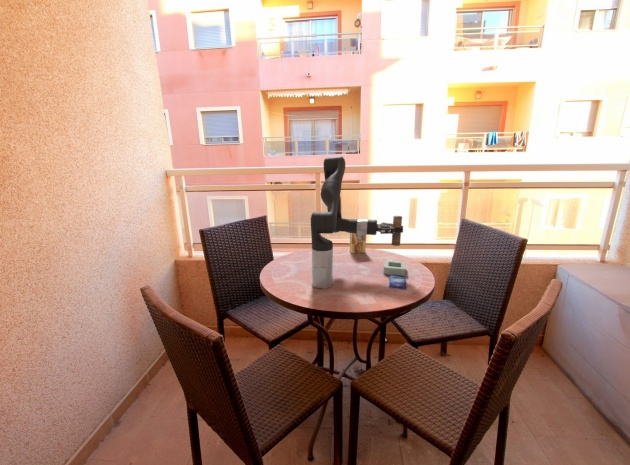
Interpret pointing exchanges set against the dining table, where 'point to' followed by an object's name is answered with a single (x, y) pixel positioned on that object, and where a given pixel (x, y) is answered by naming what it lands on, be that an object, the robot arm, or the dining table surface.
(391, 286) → the smartphone
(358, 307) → the dining table surface
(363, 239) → the candy box
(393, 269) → the square frame
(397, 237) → the dowel
